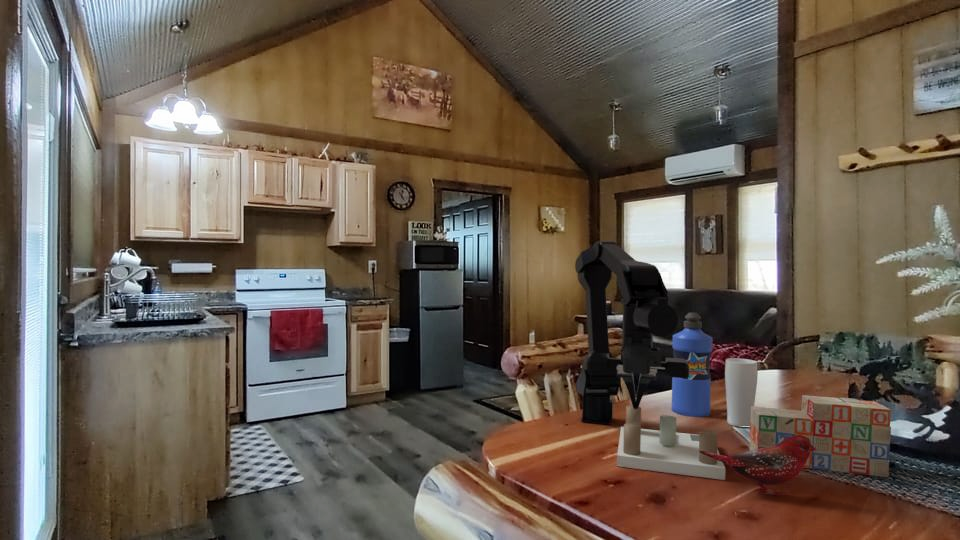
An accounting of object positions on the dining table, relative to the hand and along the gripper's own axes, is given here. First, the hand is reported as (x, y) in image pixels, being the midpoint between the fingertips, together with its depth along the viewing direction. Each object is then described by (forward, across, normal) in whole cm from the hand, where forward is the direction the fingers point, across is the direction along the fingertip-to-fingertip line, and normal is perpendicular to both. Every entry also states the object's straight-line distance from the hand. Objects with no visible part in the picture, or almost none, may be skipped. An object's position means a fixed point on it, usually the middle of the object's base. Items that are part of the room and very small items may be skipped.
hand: (635, 408), depth 103 cm
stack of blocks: (+9, +33, +6) cm, 34 cm away
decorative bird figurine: (+9, +19, -13) cm, 25 cm away
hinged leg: (+6, +6, +3) cm, 9 cm away
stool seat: (+8, +6, 0) cm, 10 cm away
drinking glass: (+9, +23, +27) cm, 37 cm away
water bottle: (+9, +13, +35) cm, 39 cm away
